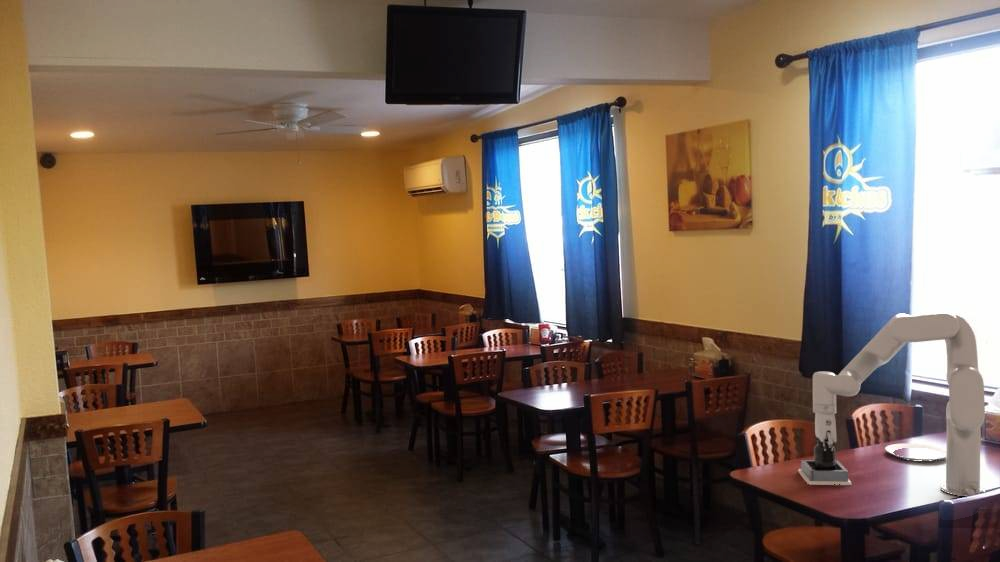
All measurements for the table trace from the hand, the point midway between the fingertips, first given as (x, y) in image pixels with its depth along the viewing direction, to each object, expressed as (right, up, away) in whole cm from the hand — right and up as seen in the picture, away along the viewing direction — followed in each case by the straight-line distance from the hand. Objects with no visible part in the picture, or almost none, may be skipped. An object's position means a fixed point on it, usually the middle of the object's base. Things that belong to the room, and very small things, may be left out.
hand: (824, 458), depth 278 cm
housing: (0, -7, +1) cm, 7 cm away
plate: (+43, -5, +23) cm, 49 cm away
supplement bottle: (0, -5, 0) cm, 5 cm away
